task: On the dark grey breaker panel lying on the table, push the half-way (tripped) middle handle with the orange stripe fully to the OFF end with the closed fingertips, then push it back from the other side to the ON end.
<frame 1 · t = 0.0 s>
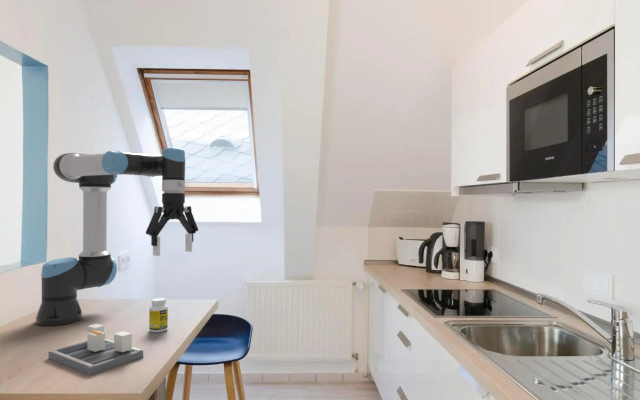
hand: (173, 253, 150), 28 cm above the counter, fingers open, 13 cm apart
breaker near: (122, 341, 127), point 5 cm above the counter, slide at 4.0 cm
panel: (96, 357, 128), on the counter
pill bottle: (158, 330, 155), on the counter
breaker mid: (96, 340, 128), point 5 cm above the counter, slide at 0.0 cm
breaker far: (96, 333, 135), point 5 cm above the counter, slide at 4.0 cm
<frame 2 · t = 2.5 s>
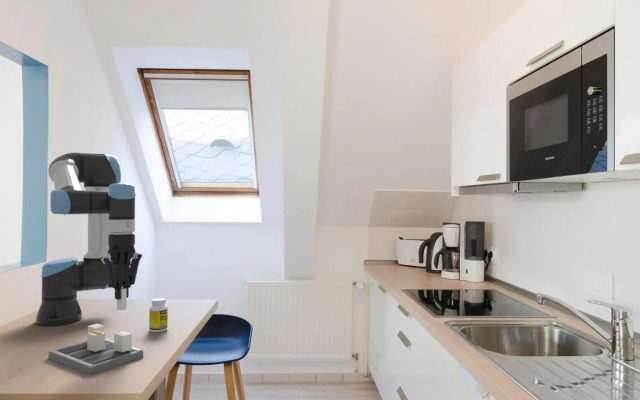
hand: (121, 309, 134), 13 cm above the counter, fingers closed
nothing on the counter moved.
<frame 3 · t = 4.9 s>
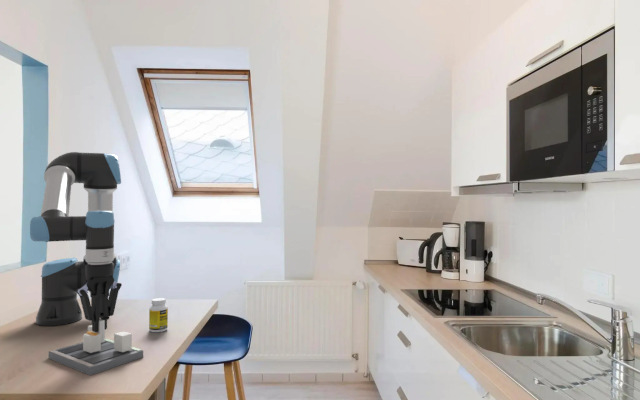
hand: (99, 341, 128), 4 cm above the counter, fingers closed
breaker mid: (92, 341, 127), point 5 cm above the counter, slide at -1.3 cm, touching gripper
everything else where it was.
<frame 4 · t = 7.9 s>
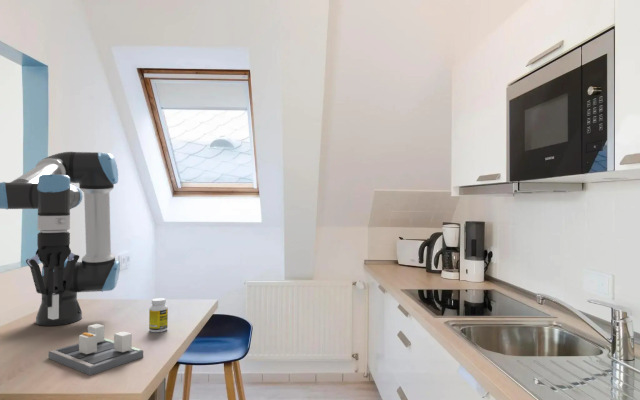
hand: (53, 318, 117), 15 cm above the counter, fingers closed
breaker mid: (88, 342, 126), point 5 cm above the counter, slide at -2.5 cm
everything else where it was.
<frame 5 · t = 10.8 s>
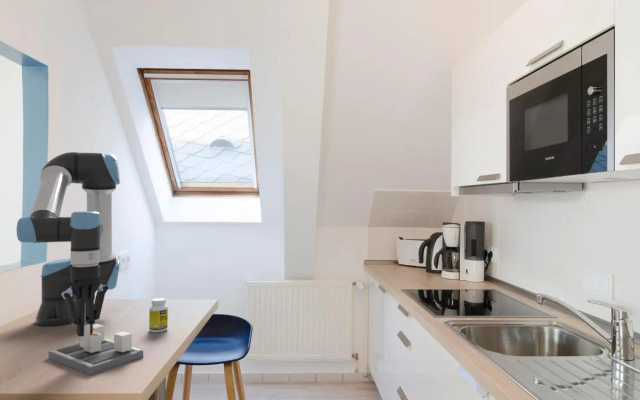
hand: (84, 346, 125), 4 cm above the counter, fingers closed
breaker mid: (92, 341, 127), point 5 cm above the counter, slide at -1.1 cm, touching gripper
everything else where it was.
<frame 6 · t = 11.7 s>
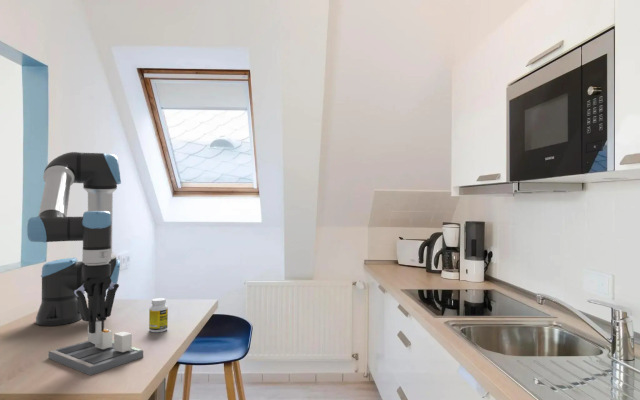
hand: (96, 342, 128), 4 cm above the counter, fingers closed
breaker mid: (103, 338, 130), point 5 cm above the counter, slide at 2.3 cm, touching gripper
everything else where it was.
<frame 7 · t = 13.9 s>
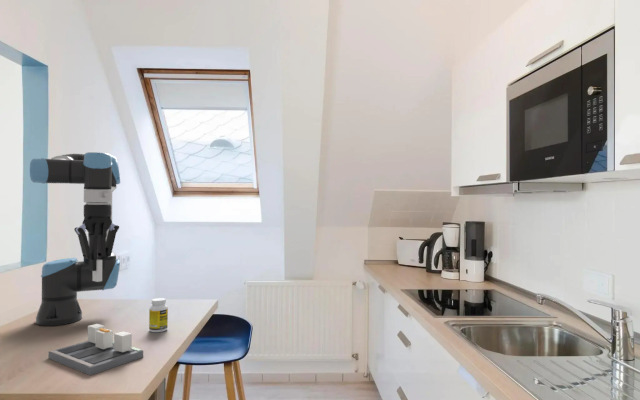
hand: (97, 280, 132), 22 cm above the counter, fingers closed
breaker mid: (104, 338, 130), point 5 cm above the counter, slide at 2.5 cm
everything else where it was.
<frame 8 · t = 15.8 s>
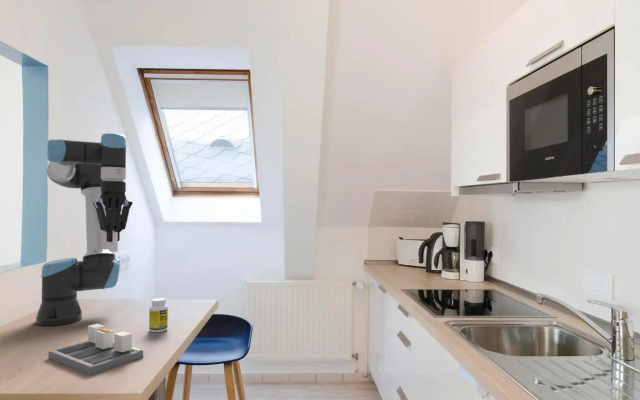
hand: (113, 251, 144), 29 cm above the counter, fingers closed
nothing on the counter moved.
at the end: breaker mid slide at 2.5 cm; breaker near slide at 4.0 cm; breaker far slide at 4.0 cm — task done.
